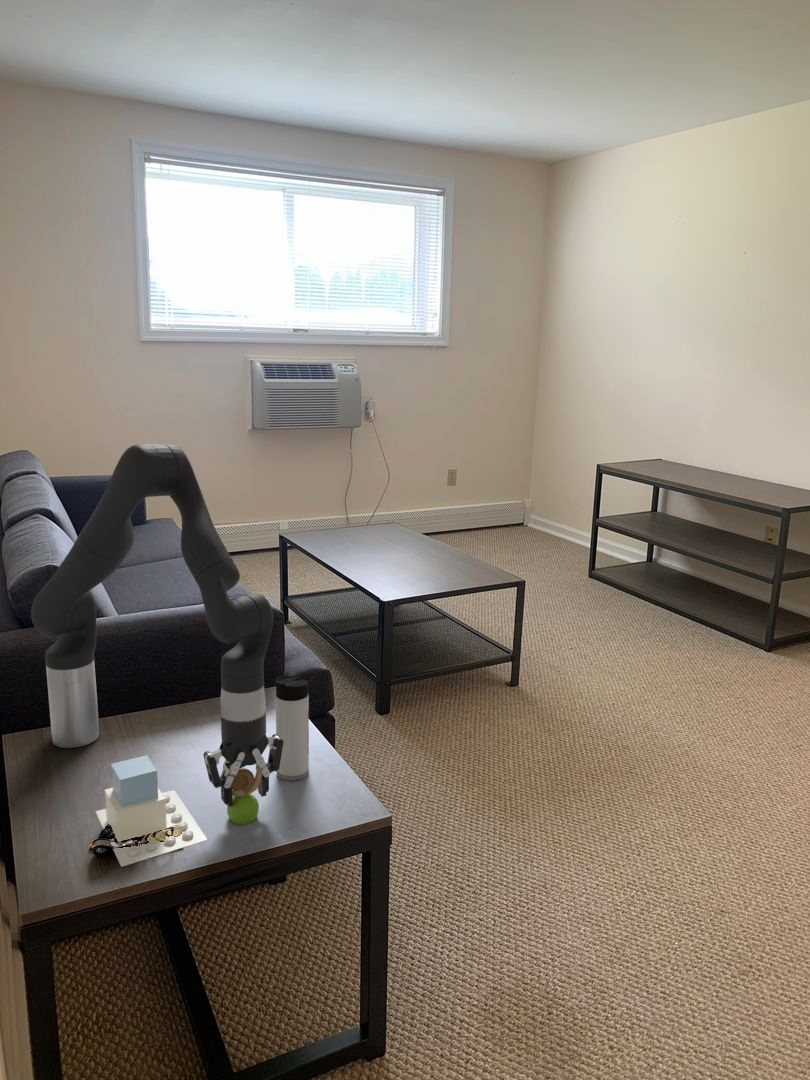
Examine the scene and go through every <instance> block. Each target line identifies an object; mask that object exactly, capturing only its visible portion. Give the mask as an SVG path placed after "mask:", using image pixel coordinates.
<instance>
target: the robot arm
mask: <svg viewBox="0 0 810 1080" xmlns="http://www.w3.org/2000/svg"><path fill="white" fill-rule="evenodd" d="M166 496H167V497H169V498H170V499H171V500H172V501H173V502H174V504H175V506H176V507H177V509H178V511H179V513H180V517H181V535H180V548H181V555H182V557H183V560H184V563H185V564H186V566H187V568H188V570H189V572H190V573H191V576H192V578H193V579H194V580H195V582H196V584H197V585H198V588H199V590H200V591H199V592H200V594H201V599H202V602H203V607H204V610H205V617H206V621H207V625H208V627H209V630H210V632H211V634H212V635H213V636H214V638H215V639H217V640H218V641H220V642H222V643H224V644H233V643H236V645H235V646H233V647H232V648H231V649H228V651H226V652H225V653H224V654H223V655H222V657H221V660H220V661H221V662H220V671H221V672H220V676H221V677H220V679H221V681H220V683H221V688H220V689H221V692H220V697H219V698H220V699H219V700H220V701H219V702H220V703H219V704H220V728H221V729H220V730H221V743H220V745H219V748H218V749H216V750H214V751H212V752H211V751H209V750H207V751H205V752H203V760H204V764H205V768H206V772H207V776H208V780H209V782H210V783H211V784H212V786H213V787H214V788H215V789H218V788H220V799H221V801H222V802H223V803H224V805H226V806H228V807H230V806H233V794H232V790H233V789H232V786H231V784H232V781H233V779H234V777H235V776H236V775H237V772H238V770H239V769H240V768H245V767H246V766H254V765H255V767H256V766H257V765H258V767H259V768H260V769H262V768H263V771H262V778H261V781H260V784H259V786H258V788H257V792H258V794H259V796H261V797H262V798H263V797H266V796H267V793H269V792H270V791H269V790H270V775H271V773H273V772H277V771H278V770H279V767H280V761H281V755H282V749H283V743H284V741H283V740H282V739H281V738H280V737H279V736H278V735H277V734H276V733H274V734H272V735H271V736H267V710H266V709H267V699H266V698H267V697H266V690H265V675H264V674H265V670H264V669H265V668H264V667H265V666H264V662H265V658H266V654H267V651H268V646H269V642H270V639H271V635H272V631H273V626H274V612H273V609H272V605H271V603H270V602H269V600H268V599H267V597H265V596H264V595H263V594H261V593H257V592H251V593H247V594H243V595H239V596H236V597H232V598H230V596H229V595H228V594H227V592H228V591H230V590H232V588H234V587H235V586H236V585H237V584H238V582H239V581H240V577H241V574H240V571H239V569H238V567H237V565H236V563H235V562H234V560H233V558H232V556H231V555H230V552H229V550H228V549H227V548H226V546H225V544H224V542H223V541H222V539H221V537H220V535H219V533H218V531H217V529H216V527H215V524H214V522H213V520H212V518H211V515H210V512H209V510H208V507H207V504H206V501H205V498H204V495H203V493H202V490H201V487H200V485H199V481H198V480H197V477H196V474H195V471H194V469H193V466H192V464H191V462H190V460H189V458H188V456H187V454H186V453H185V451H184V450H183V449H182V448H180V446H177V445H175V444H171V443H140V444H134V445H131V446H129V447H128V448H126V449H125V451H124V452H123V453H122V455H121V456H120V458H119V460H118V461H117V464H116V466H115V468H114V470H113V472H112V474H111V476H110V479H109V482H108V484H107V486H106V489H105V490H104V492H103V494H102V496H101V498H100V500H99V502H98V504H97V505H96V507H95V509H94V511H93V512H92V514H91V516H90V518H89V519H88V520H87V521H86V524H85V525H84V526H83V528H82V529H81V531H80V532H79V535H78V536H77V537H76V539H75V541H74V543H73V545H72V547H71V548H70V550H69V552H68V553H67V555H66V556H65V558H64V559H63V560H62V563H61V564H59V565H60V566H59V567H58V568H57V569H56V571H55V573H54V574H53V575H52V577H51V578H50V579H49V580H48V581H47V582H46V583H45V584H44V586H43V587H42V588H41V589H40V591H39V592H38V593H37V595H35V597H34V599H33V602H32V605H31V611H30V613H31V614H30V617H31V621H32V624H33V627H34V629H36V630H37V632H39V633H40V634H42V635H45V636H59V635H60V637H59V638H58V639H57V640H56V641H55V642H54V643H53V644H52V645H50V646H49V647H48V649H46V651H45V655H44V660H45V668H46V669H45V670H46V680H47V690H48V691H47V694H48V705H49V718H50V731H51V741H52V744H53V745H54V746H56V747H59V748H65V749H72V748H79V747H85V746H87V745H90V744H92V743H94V742H95V741H97V739H98V738H99V736H100V729H99V728H100V726H99V711H98V709H99V708H98V693H97V682H96V668H95V651H96V647H97V609H96V601H95V598H94V595H93V594H92V592H91V590H93V589H95V587H97V586H98V585H99V584H100V585H101V583H102V582H104V581H105V580H107V579H108V578H109V577H110V576H111V575H113V574H114V573H115V572H116V571H117V569H118V568H120V567H121V565H122V563H123V562H124V560H125V559H126V557H127V556H128V554H129V553H130V551H132V548H133V545H134V541H135V531H134V527H133V523H132V519H131V516H132V514H133V513H134V511H135V510H136V507H137V506H138V505H139V504H140V503H141V502H142V501H143V500H144V499H146V498H149V497H150V498H151V497H152V498H153V497H154V498H155V497H166ZM267 747H268V748H269V752H268V758H267V763H266V761H265V759H263V758H264V757H263V753H264V752H265V750H266V749H267ZM221 757H223V758H224V759H225V760H224V762H223V764H222V771H221V773H220V774H219V770H218V765H219V763H220V759H221ZM262 757H263V758H262Z"/></svg>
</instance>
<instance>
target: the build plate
mask: <svg viewBox="0 0 810 1080" xmlns="http://www.w3.org/2000/svg"><path fill="white" fill-rule="evenodd" d="M161 793H162V794H163V796H164V797H165V803H166V823H167V828H169V827H171V826H173V825H174V826H175V825H177V828H178V829H181V830H183V832H182V834H181V835H180V836H178V837H174V836H169V837H166V838H165V840H164V842H158V843H157V842H149V843H147V844H142V845H140V846H139V844H138V846H131V847H123V848H114V849H113V848H112V850H113V852H114V854H115V856H116V858H117V861H118V862H119V865H120V867H121V868H122V867H126V866H129V865H132V864H135V863H138V862H141V861H145V860H148V859H151V858H154V857H157V856H160V855H163V854H167V853H170V852H173V851H176V850H180V849H182V848H185V847H188V846H193V845H196V844H198V843H202V842H206V841H207V840H208V838H207V836H206V835H205V833H204V832H203V831H202V829H201V828H200V826H199V825H198V823H197V822H196V820H195V819H194V817H193V816H192V814H191V813H190V811H189V810H188V808H187V807H186V805H185V803H184V802H183V800H182V799H181V798H180V796H179V795H178V793H177V792H176V790H175V789H173V790H168V791H165V792H161ZM94 812H95V814H96V816H97V818H98V821H99V823H100V824H101V826H102V829H103V830H104V829H105V827H106V826H107V825H108V823H107V818H106V808H102V809H100V810H99V809H98V810H95V811H94Z"/></svg>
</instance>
